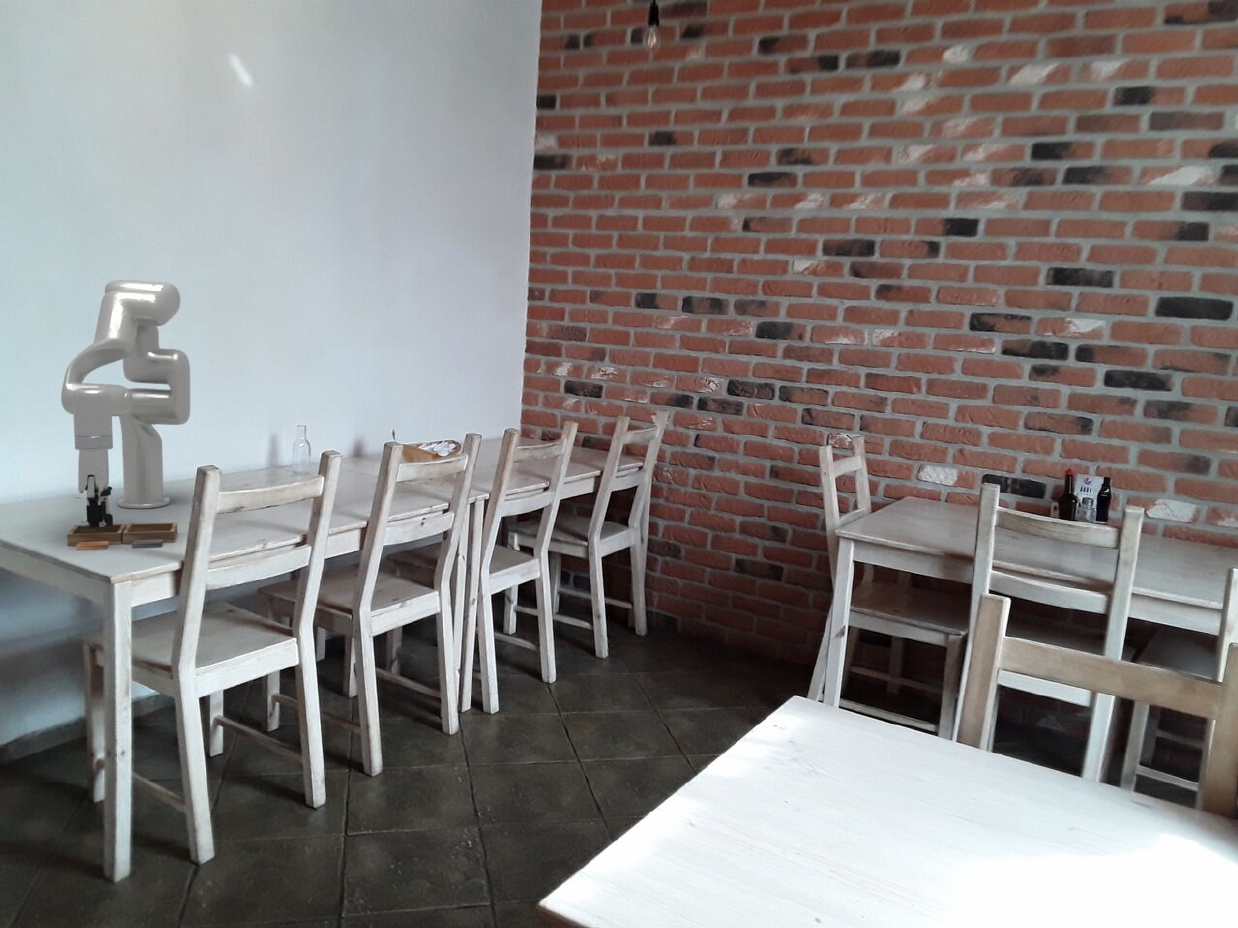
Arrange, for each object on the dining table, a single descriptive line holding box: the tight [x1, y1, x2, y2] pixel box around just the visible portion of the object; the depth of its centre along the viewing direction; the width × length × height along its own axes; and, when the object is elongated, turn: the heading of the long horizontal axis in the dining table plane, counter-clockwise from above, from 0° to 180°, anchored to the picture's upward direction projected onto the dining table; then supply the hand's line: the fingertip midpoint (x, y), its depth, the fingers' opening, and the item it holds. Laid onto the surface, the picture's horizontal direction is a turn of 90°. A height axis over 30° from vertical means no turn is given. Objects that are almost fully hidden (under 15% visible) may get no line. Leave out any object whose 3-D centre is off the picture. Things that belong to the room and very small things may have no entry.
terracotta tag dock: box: [66, 523, 127, 551], centre depth 202 cm, size 12×11×3 cm
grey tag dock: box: [122, 522, 178, 549], centre depth 206 cm, size 12×11×3 cm
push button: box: [80, 484, 114, 528], centre depth 202 cm, size 7×5×10 cm
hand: (97, 518), depth 203 cm, fingers closed on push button, 3 cm apart
